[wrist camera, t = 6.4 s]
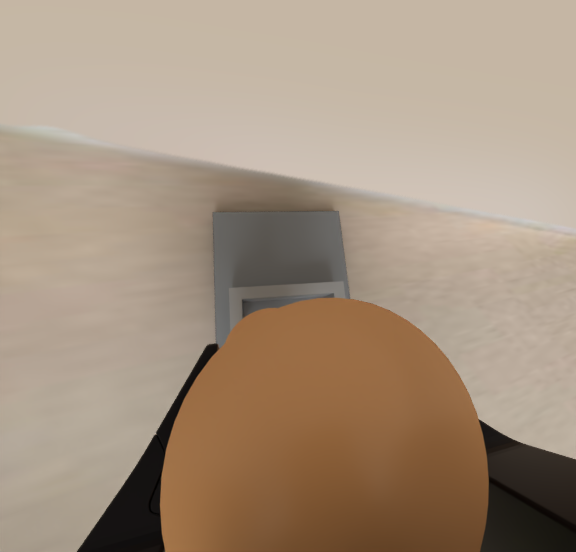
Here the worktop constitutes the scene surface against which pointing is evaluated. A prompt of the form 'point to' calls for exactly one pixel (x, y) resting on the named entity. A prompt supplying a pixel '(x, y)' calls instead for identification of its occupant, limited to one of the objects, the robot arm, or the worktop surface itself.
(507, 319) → the worktop surface
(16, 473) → the worktop surface
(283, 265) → the housing
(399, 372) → the orange knob handle
